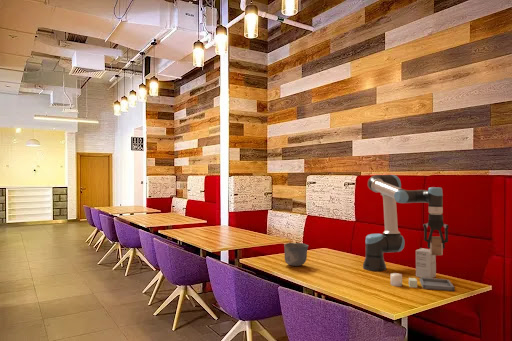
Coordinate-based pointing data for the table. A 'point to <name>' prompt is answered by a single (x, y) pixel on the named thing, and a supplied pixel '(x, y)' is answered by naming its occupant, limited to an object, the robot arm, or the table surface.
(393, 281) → the glossy white capsule
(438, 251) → the walnut block
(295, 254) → the bowl
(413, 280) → the cream box
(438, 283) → the tray
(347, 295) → the table surface
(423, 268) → the supplement box
